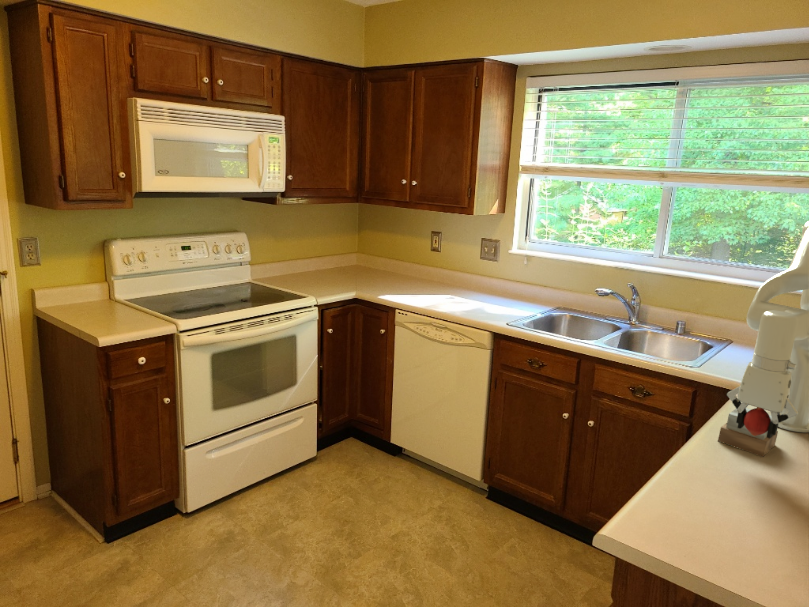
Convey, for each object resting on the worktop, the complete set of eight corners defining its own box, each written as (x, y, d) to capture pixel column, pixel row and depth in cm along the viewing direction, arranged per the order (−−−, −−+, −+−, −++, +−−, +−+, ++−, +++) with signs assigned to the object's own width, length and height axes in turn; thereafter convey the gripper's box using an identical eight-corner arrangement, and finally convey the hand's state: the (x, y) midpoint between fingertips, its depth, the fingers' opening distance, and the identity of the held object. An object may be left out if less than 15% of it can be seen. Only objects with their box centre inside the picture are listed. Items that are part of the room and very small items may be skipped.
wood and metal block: (731, 430, 170) (736, 403, 169) (774, 445, 163) (781, 417, 161) (717, 441, 163) (723, 413, 161) (763, 456, 155) (769, 428, 153)
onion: (758, 430, 152) (765, 401, 150) (773, 441, 147) (780, 411, 144) (736, 429, 152) (742, 400, 150) (749, 440, 146) (756, 410, 144)
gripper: (816, 369, 141) (799, 439, 146) (736, 349, 153) (723, 415, 157) (808, 377, 136) (790, 449, 141) (726, 356, 147) (712, 423, 152)
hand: (755, 430), depth 149 cm, fingers closed on onion, 5 cm apart
